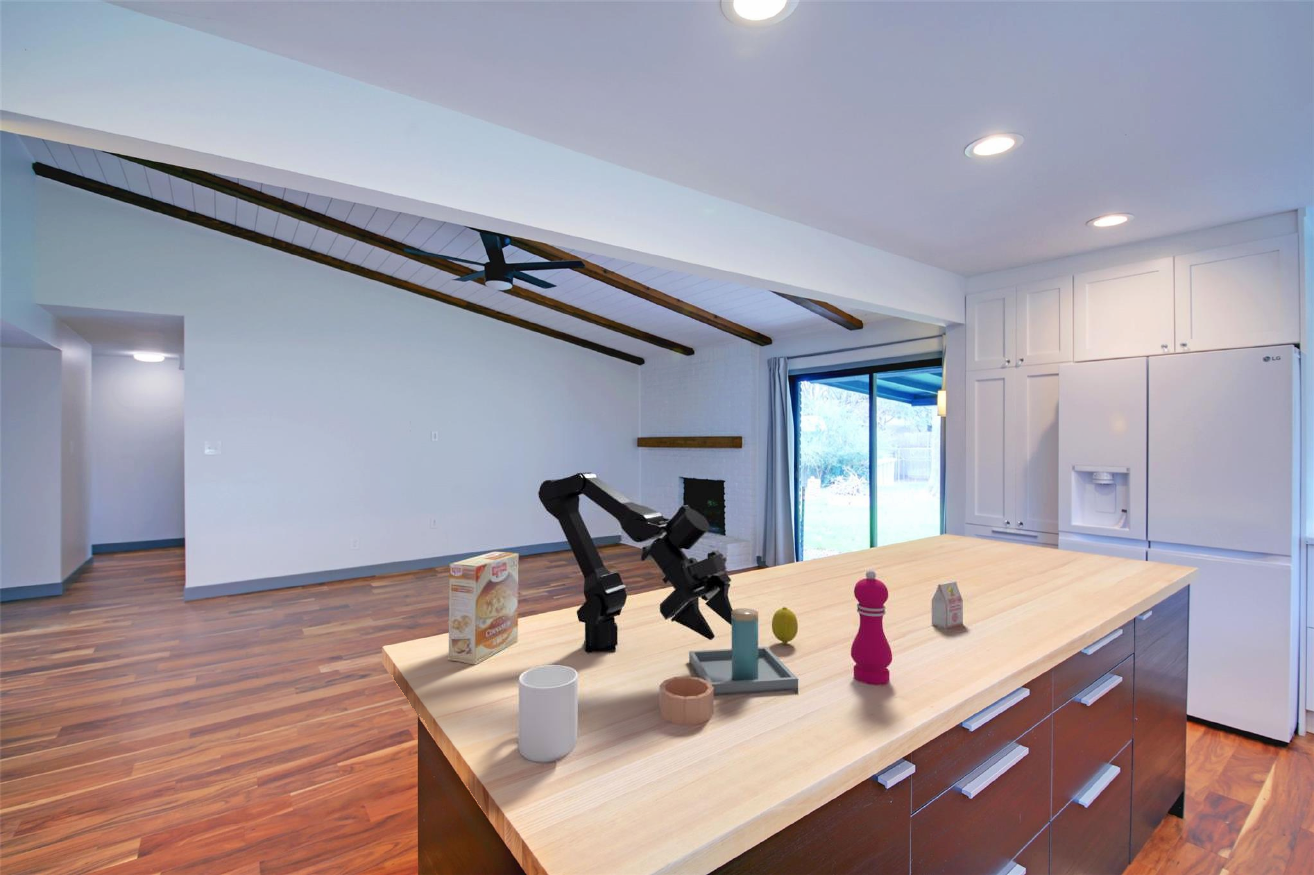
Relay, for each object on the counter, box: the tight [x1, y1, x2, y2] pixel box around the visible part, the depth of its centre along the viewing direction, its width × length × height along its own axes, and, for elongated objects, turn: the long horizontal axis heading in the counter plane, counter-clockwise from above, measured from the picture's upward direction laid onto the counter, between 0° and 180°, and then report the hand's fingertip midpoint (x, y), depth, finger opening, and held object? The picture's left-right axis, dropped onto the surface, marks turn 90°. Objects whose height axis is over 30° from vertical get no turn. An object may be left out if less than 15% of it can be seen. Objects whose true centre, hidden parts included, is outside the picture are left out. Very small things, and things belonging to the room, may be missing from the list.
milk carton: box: [931, 581, 964, 630], centre depth 138 cm, size 4×7×10 cm, turn 121°
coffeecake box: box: [448, 551, 520, 665], centre depth 121 cm, size 15×7×20 cm, turn 160°
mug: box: [518, 664, 579, 764], centre depth 83 cm, size 12×8×10 cm
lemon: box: [771, 606, 799, 645], centre depth 125 cm, size 6×6×8 cm
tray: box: [688, 646, 799, 697], centre depth 107 cm, size 16×16×2 cm
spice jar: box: [730, 607, 759, 681], centre depth 104 cm, size 5×5×12 cm
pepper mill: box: [850, 569, 893, 686], centre depth 106 cm, size 7×7×20 cm
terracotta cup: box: [658, 675, 715, 726], centre depth 92 cm, size 8×8×4 cm
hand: (724, 631), depth 106 cm, fingers open, 9 cm apart
